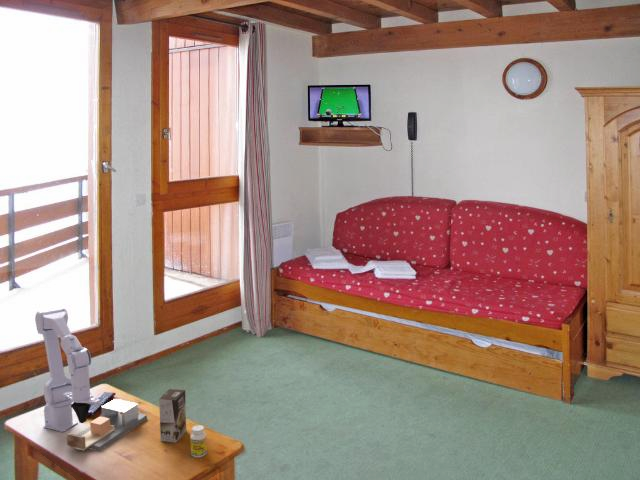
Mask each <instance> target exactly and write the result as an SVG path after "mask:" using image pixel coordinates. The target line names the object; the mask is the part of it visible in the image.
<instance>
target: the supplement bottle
mask: <svg viewBox="0 0 640 480" xmlns="http://www.w3.org/2000/svg"><path fill="white" fill-rule="evenodd" d="M206 433H207V432H205V427H204V426H203V425H200V424H198V425H194V426H192V427H191V434H190V436H189V437H190V440H189V442H190V455H191V456H192V457H193V458H202V457H205V456H206V455H207V453H208V452H207V451H208V448H207V446H208V444H207V434H206Z"/></svg>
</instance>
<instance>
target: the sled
mask: <svg viewBox="0 0 640 480" xmlns="http://www.w3.org/2000/svg"><path fill="white" fill-rule="evenodd" d="M110 428H111V429H110V430H108V431H107V432H105V433H104V434H102V435H98V434H94V433H91V430H90V431H89V432H87V433H86V434H84V435H82V436H80V435H77V433H76V434H75V433H71V432H68V433H66V446H67V448H72V449H75V450H80V451H83V452H84V451H85V450H86V449H89V448H88V447H90V446H91V445H93V444H94V443H96V442H97V441H99V440H100V439H102V438H103V437H105V436H106V435H108V434H110V433H111V432H113V431H114V426H113V425H110Z"/></svg>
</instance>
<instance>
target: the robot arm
mask: <svg viewBox="0 0 640 480" xmlns="http://www.w3.org/2000/svg"><path fill="white" fill-rule="evenodd" d="M34 316H35V318H34V320H35V321H34V322H35V327H36V330H37V334H39V335H42V337H43V342H44V347H45V352H46V359H47V364H48V370H49V375H50V379H49V380H47V382H45V384H44V386H43V390H44V392H43V396H44V400H45V403H46V404H45V405H44V408H43V416H44V417H43V418H44V425H43V426H42V427H43V428H45V429H50V430H53V431H58V432H61V433H64V432H65V431H67V430H69V429H71V428H72V427H74V426H75V425H77V424H78V423H79V424H83V423H84V424H85V423H86V422H87V419H88V415H89V411H90V409H91V406H94V407H96V408H97V407H99V406H102V404H101V399H99V398H97V397H95V396H94V395H92V392H91V388H90V371H89V370H90V369H89V367H90V366H91V364H92V356H91V353H90V351H89V349H88V348H86V347H83V346H82V344H81V342H80V341H79V339H78V338H77V336H76V335H74V334H72V333H71V330H70V328H69V325H68V320H69V314H68V310H67V308H65V307H64V306H61V307H58V308H52V309H47V310H39V311H37V312H36V313H35V315H34ZM59 339H60V340H61V341H60V342H59ZM61 348H62V350H63V352H64V355H66V363H67V365H68V371H69V374H70V377H69V376H67V375H65V374H66V373H65V368H64V363H63V357H62V352H61ZM73 411H74V412H75V415H76V416H77V419H78V421H76V420H73V419H74V418H73Z"/></svg>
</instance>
